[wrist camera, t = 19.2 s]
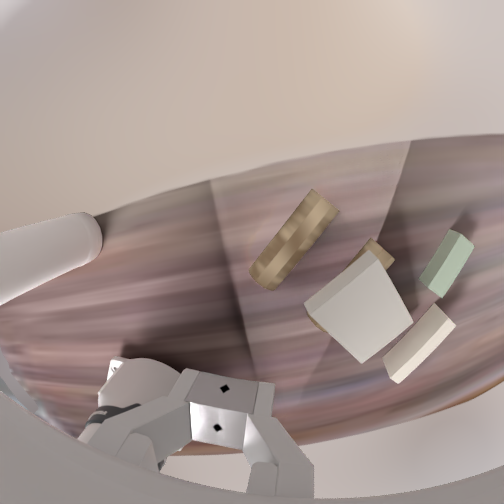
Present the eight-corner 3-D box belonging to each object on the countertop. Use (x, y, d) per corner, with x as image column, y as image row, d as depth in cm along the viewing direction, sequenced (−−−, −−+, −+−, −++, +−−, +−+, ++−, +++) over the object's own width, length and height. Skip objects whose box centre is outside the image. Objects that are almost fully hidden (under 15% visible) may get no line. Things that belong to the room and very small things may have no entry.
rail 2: (329, 322, 38) (331, 337, 34) (306, 305, 38) (307, 319, 34) (389, 254, 34) (399, 263, 30) (367, 234, 34) (375, 241, 30)
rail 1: (276, 283, 37) (273, 295, 34) (251, 264, 37) (246, 274, 33) (337, 209, 34) (341, 212, 30) (311, 188, 34) (312, 189, 30)
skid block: (431, 288, 35) (442, 298, 31) (417, 278, 35) (427, 287, 31) (462, 240, 32) (474, 246, 29) (448, 228, 32) (461, 233, 29)
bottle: (109, 256, 40) (-60, 347, 12) (75, 265, 42) (-73, 342, 13) (96, 205, 39) (-89, 255, 10) (63, 218, 40) (-96, 268, 12)
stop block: (390, 363, 38) (398, 384, 33) (382, 357, 38) (389, 377, 33) (441, 310, 35) (456, 325, 30) (434, 302, 35) (448, 318, 30)
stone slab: (355, 353, 37) (361, 363, 36) (303, 303, 31) (309, 315, 29) (406, 313, 36) (413, 322, 34) (368, 249, 29) (378, 258, 28)
